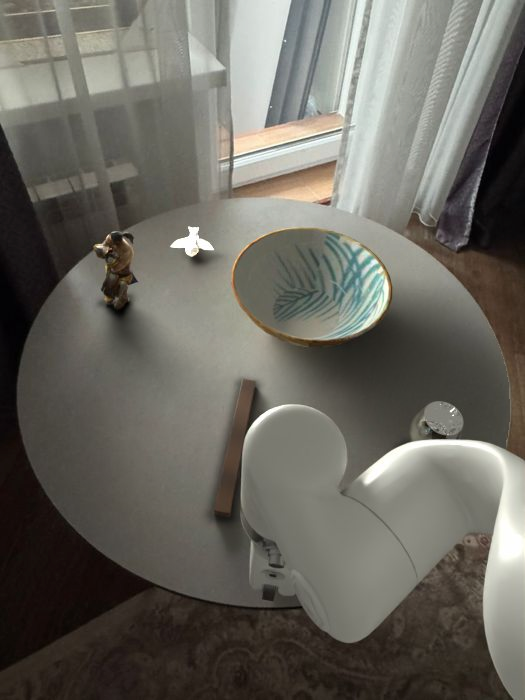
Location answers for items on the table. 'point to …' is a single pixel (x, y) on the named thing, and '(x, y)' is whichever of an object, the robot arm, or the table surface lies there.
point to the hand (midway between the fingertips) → (270, 562)
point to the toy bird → (192, 243)
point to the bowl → (311, 286)
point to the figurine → (116, 267)
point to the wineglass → (437, 423)
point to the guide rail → (234, 449)
